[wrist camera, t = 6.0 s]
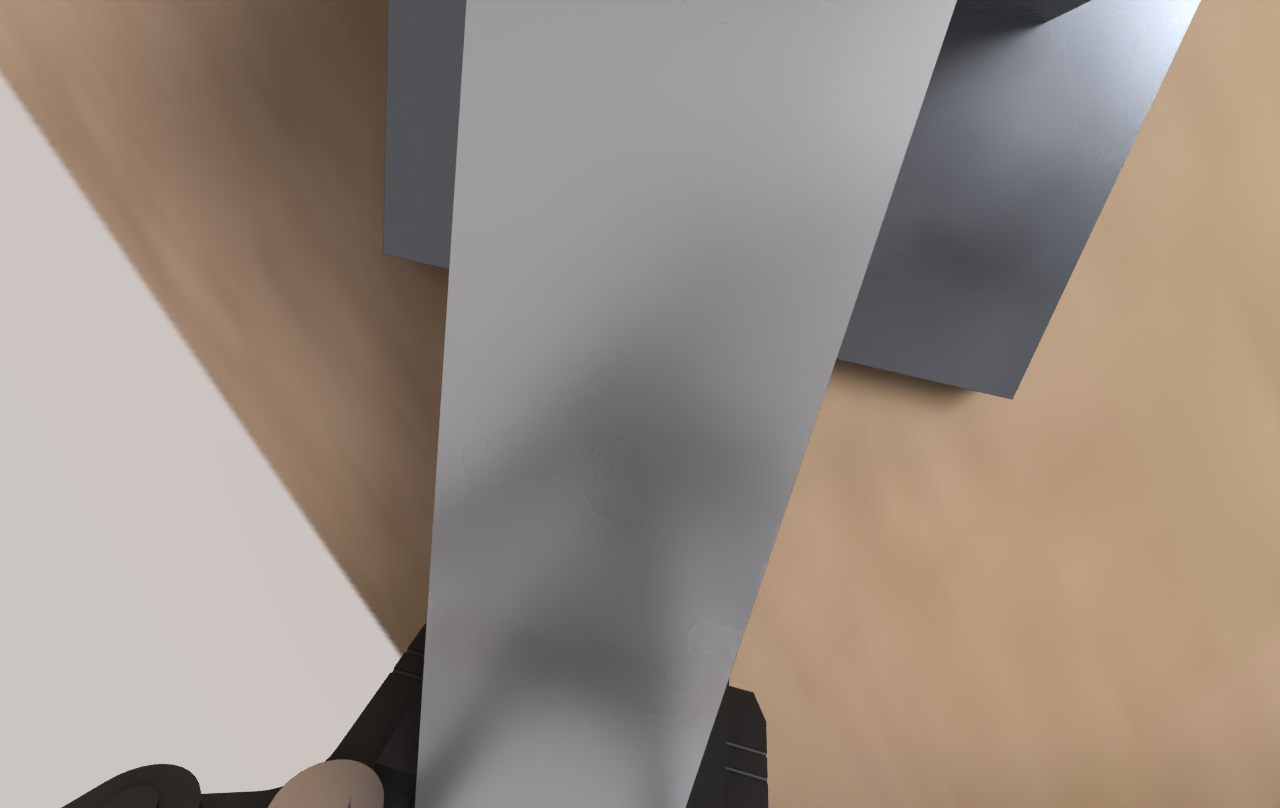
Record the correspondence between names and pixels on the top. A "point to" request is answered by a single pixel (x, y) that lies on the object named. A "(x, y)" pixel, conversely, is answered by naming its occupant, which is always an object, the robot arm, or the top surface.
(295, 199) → the top surface
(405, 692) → the robot arm
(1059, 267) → the bearing block
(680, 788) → the shaft
